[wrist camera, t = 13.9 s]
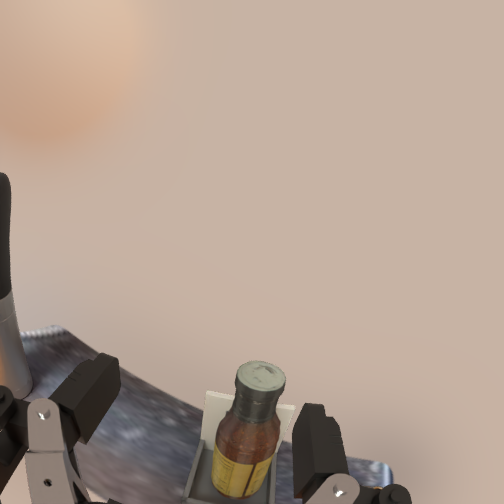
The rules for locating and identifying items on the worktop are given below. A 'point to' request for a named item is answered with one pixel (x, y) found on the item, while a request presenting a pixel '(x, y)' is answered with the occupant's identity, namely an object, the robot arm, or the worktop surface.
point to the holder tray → (199, 481)
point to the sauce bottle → (248, 431)
